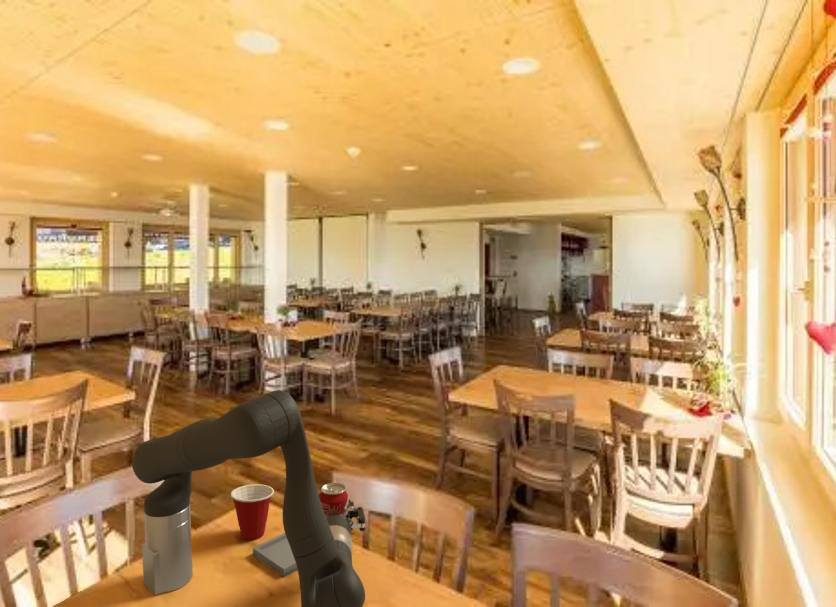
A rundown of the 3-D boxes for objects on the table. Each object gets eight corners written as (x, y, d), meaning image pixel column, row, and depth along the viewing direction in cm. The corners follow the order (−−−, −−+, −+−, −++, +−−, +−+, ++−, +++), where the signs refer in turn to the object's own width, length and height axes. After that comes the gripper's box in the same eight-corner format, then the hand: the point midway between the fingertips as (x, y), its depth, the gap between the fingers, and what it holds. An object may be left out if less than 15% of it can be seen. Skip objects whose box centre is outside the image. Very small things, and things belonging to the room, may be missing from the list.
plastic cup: (283, 531, 137) (282, 487, 136) (251, 550, 128) (249, 504, 127) (256, 519, 143) (255, 478, 142) (222, 537, 134) (221, 493, 133)
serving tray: (284, 577, 118) (284, 569, 117) (252, 555, 126) (252, 547, 126) (328, 552, 127) (328, 545, 127) (296, 534, 136) (296, 526, 136)
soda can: (342, 548, 113) (342, 496, 112) (313, 544, 114) (313, 493, 113) (352, 533, 120) (352, 483, 119) (325, 529, 121) (325, 480, 120)
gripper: (369, 523, 103) (364, 486, 119) (296, 528, 101) (301, 490, 117) (369, 559, 104) (364, 517, 120) (296, 565, 101) (301, 522, 118)
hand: (332, 504), depth 119 cm, fingers closed on soda can, 6 cm apart
